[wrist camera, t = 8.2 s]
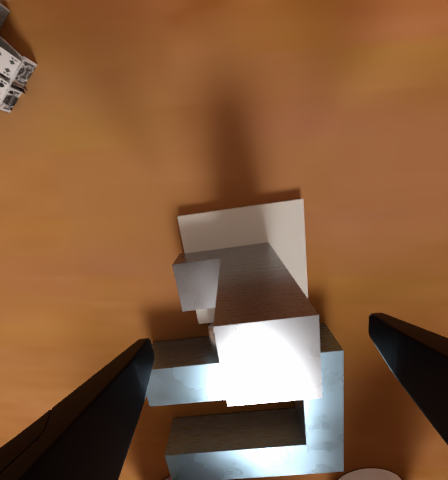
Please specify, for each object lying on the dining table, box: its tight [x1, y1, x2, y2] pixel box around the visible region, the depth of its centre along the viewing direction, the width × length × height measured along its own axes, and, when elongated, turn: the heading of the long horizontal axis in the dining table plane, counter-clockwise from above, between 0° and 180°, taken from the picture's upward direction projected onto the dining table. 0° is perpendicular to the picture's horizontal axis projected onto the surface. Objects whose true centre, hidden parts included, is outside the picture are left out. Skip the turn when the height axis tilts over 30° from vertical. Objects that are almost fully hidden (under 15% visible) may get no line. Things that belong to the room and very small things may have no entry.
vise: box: [146, 323, 344, 480], centre depth 18 cm, size 15×14×3 cm
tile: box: [177, 198, 308, 324], centre depth 16 cm, size 9×9×1 cm
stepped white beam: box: [172, 242, 322, 406], centre depth 12 cm, size 7×4×9 cm, turn 98°
